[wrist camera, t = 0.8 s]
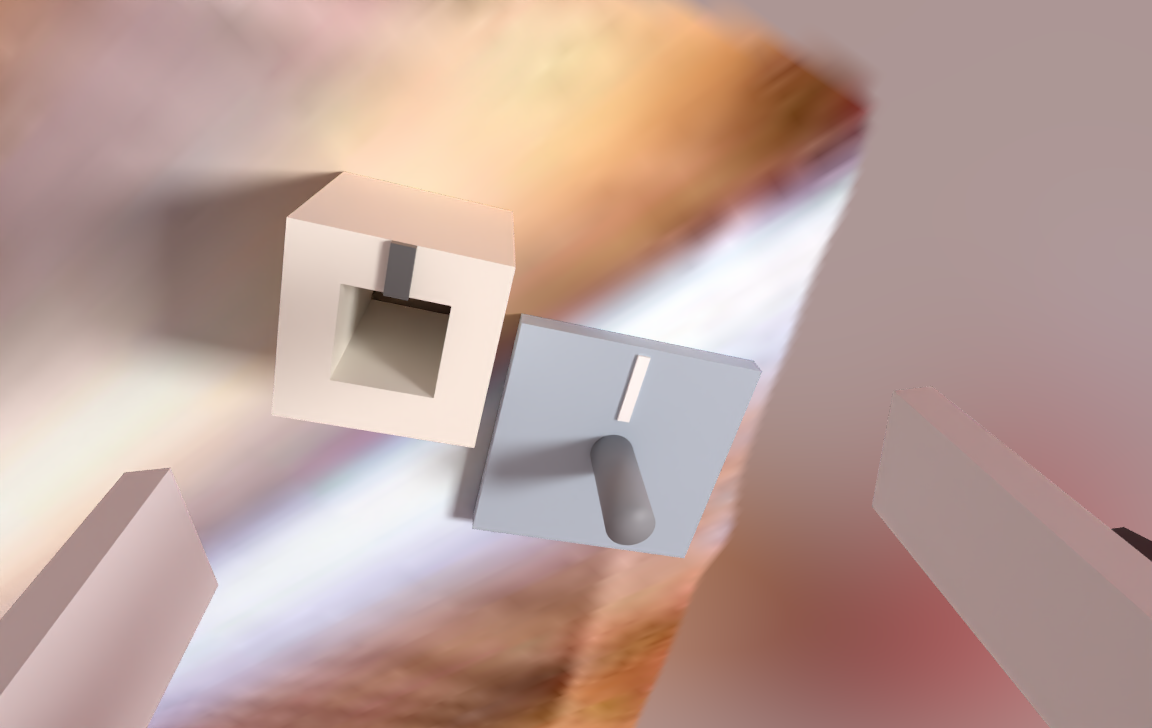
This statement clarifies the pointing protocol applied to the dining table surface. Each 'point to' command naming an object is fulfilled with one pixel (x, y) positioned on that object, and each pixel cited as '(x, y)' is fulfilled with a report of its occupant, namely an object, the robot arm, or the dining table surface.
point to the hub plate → (586, 409)
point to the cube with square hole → (391, 309)
